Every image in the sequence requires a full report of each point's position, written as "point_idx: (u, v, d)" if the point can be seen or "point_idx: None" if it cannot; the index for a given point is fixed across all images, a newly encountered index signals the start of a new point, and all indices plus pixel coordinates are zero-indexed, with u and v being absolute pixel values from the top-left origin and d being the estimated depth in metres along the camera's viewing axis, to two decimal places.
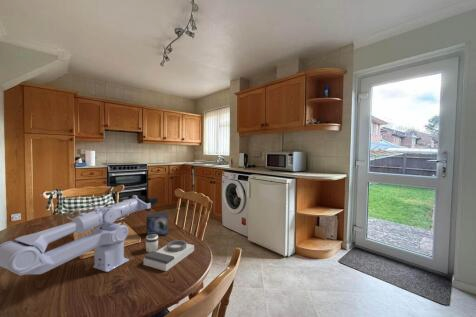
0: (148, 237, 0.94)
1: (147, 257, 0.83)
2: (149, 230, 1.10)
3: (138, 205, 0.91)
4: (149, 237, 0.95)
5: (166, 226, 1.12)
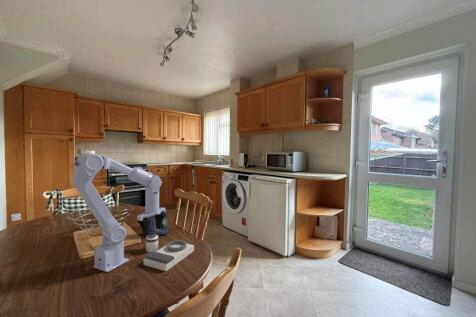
0: (148, 237, 0.94)
1: (147, 257, 0.83)
2: (149, 230, 1.10)
3: (147, 212, 0.93)
4: (149, 237, 0.95)
5: (166, 226, 1.12)
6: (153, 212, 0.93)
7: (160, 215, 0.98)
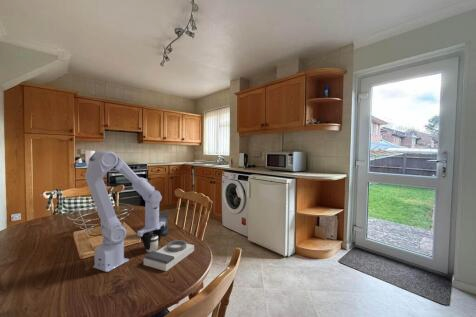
0: None
1: (147, 257, 0.83)
2: None
3: (147, 227, 0.93)
4: None
5: (166, 226, 1.12)
6: (153, 227, 0.93)
7: (158, 230, 0.98)
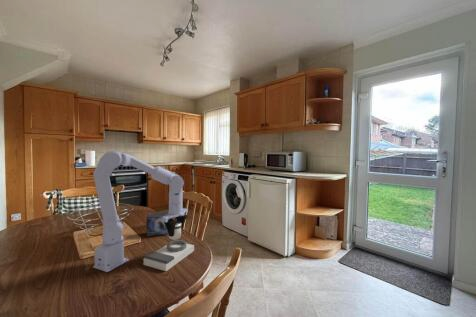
0: None
1: (147, 257, 0.83)
2: (149, 230, 1.10)
3: (171, 213, 0.90)
4: None
5: None
6: (177, 213, 0.90)
7: (182, 217, 0.95)
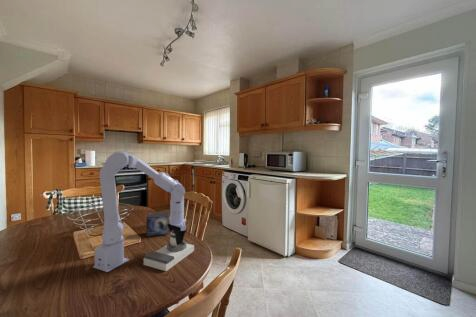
0: None
1: (147, 257, 0.83)
2: (149, 230, 1.10)
3: (179, 221, 0.91)
4: None
5: (166, 226, 1.12)
6: (183, 220, 0.93)
7: None
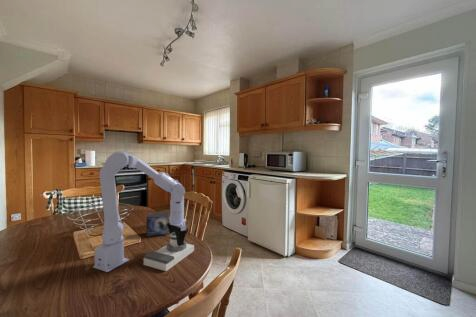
0: None
1: (147, 257, 0.83)
2: (149, 230, 1.10)
3: (179, 221, 0.91)
4: None
5: (166, 226, 1.12)
6: (183, 220, 0.93)
7: None
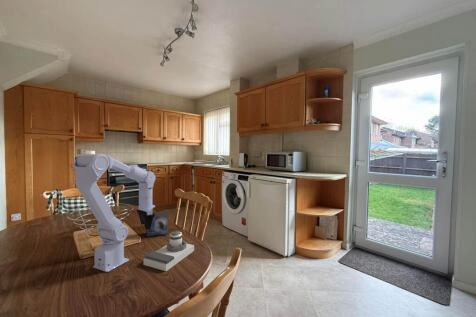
0: (176, 235, 0.91)
1: (147, 257, 0.83)
2: (149, 230, 1.10)
3: (147, 206, 0.96)
4: (176, 234, 0.91)
5: (166, 226, 1.12)
6: (152, 206, 0.98)
7: None
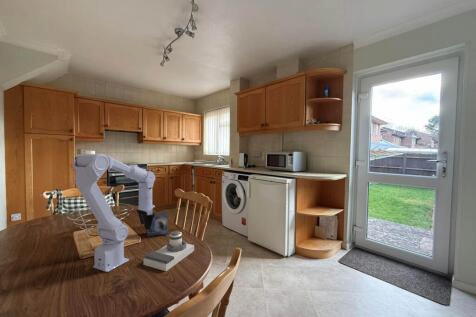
0: (176, 235, 0.91)
1: (147, 257, 0.83)
2: (149, 230, 1.10)
3: (147, 206, 0.96)
4: (176, 234, 0.91)
5: (166, 226, 1.12)
6: (152, 206, 0.98)
7: None
